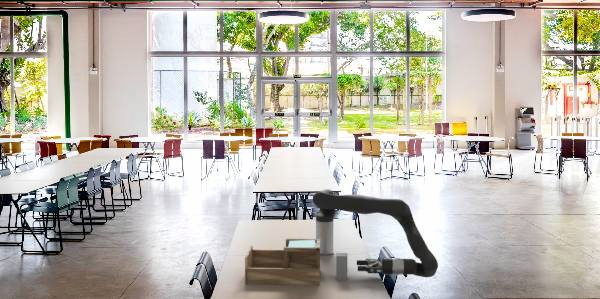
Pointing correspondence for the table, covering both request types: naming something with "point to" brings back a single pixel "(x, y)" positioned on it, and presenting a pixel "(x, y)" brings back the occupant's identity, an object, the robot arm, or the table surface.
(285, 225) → the table surface
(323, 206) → the robot arm
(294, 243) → the trapdoor
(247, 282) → the trapdoor frame
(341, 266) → the granite stone
